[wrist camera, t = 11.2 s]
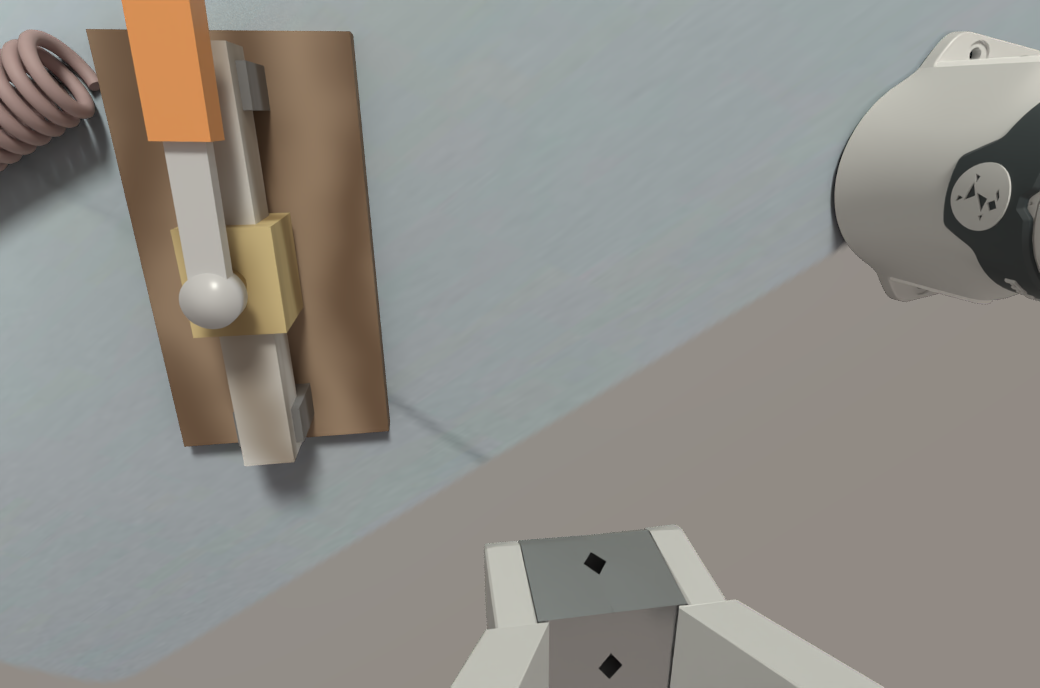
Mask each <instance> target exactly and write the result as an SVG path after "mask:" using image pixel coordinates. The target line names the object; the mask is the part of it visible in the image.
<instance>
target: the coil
mask: <svg viewBox="0 0 1040 688" xmlns="http://www.w3.org/2000/svg"><path fill="white" fill-rule="evenodd" d="M39 46H41V47H43V48H46V49H48V50H50V51H51V52H53V53H54V54H56V55H57V56H59V57H60V58H61V59H63V60H64V61H65V62H66V63H67V64H69V65H70V66H71V67H72V68H73V69H74V70H75V71H76V72H77V73H78V74H79V75H80V77H81V78H82V79H83V80H84V82H85V83H86V84H87V86H88V87H89V88H90V90H93V91H98V90H100V87H99V82H98V78H97V75H96V73H95V72H94V71H93V70H92V69H91V68H90V66H89V65H88V64H87V63H86V62H85V61H84V60H83V59H82V58H81V57H80V56H79V55H78V54H76V53H75V52H74V51H73V50H72V49H71V48H69V47H68V46H67V45H65V44H64V43H63V42H61V41H60V40H58V39H57V38H55V37H53V36H52V35H50V34H47V33H45V32H42V31H38V30H26V31H24V32H22V33H21V34H20V35H19V38H18V39H14V40H10V41H8V42H6V43H5V44H4V45H3V47H2V49H0V171H3V170H4V169H5V168H6V167H7V165H8V164H12V163H15V162H18V161H19V160H20V159H21V157H22V155H27V154H31V153H33V152H34V151H35V149H36V147H37V146H42V145H46V144H48V143H49V141H50V140H51V137H57V136H61V135H62V134H63V133H64V132H65V130H66V128H72V127H76V126H77V125H78V124H79V123H80V118H82V119H87V118H91V117H92V116H93V115H94V113H95V105H94V102H93V99H92V97H91V96H90V94H89V92H88V91H87V89H86V88H85V87H84V85H83V84H82V83H81V82H80V81H79V79H78V78H77V77H76V76H75V75H74V74H73V73H72V72H71V71H70V70H69V69H68V68H67V67H66V66H65V65H64V64H63V63H62V62H60V61H59V60H58V59H57V58H56V57H54V56H53V55H52V54H50V53H49V52H47V51H46V50H44V49H43V48H41V47H39ZM44 66H45V67H46V68H48V69H49V70H50V71H51V72H52V73H54V74H55V75H56V76H57V77H58V78H59V79H60V80H61V81H62V82H63V83H64V84H65V85H66V86H67V88H68V89H69V90H70V91H71V93H72V94H73V95H74V97H75V99H76V100H77V101H75V100H74V99H72V97H71V96H70V95H69V94H68V92H67V91H66V90H65V89H64V88H63V87H62V85H61V84H60V83H59V82H58V81H57V80H56V79H55V78H54V77H53V76H51V75H50V74H49V73H48V72H47V70H46V69H45V67H44ZM26 73H27V74H28V75H30V76H31V77H32V78H33V79H34V81H35V82H36V83H37V84H38V85H37V84H36V83H35V82H33V81H32V80H31V79H30V78H28V76H27V74H26ZM9 81H10V82H11V83H13V84H14V85H15V87H16V88H17V89H16V88H15V87H14V86H12V85H11V84H10V83H9ZM53 101H54V102H55V103H56V104H57V105H58V106H59V107H61V109H62V111H61V110H59V108H58V107H57V105H56V104H55V103H54V102H53ZM45 117H46V118H47V119H48V121H47V120H46V119H45ZM32 129H34V131H33V130H32Z"/></svg>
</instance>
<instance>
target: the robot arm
mask: <svg viewBox="0 0 1040 688" xmlns="http://www.w3.org/2000/svg"><path fill="white" fill-rule="evenodd" d="M971 51H972V57H971V59H970V52H971ZM835 211H836V217H837V222H838V225H839V228H840V231H841V233H842V235H843V237H844V239H845V241H846V243H847V244H848V246H849V247H850V248H851V250H852V251H853V252H854V253H855V254H856V255H857V256H858V257H859V258H861V259H862V260H863V261H864V262H866V263H867V264H868V265H870V266H871V267H872V268H873V269H874V270H875V271H876V273H877V275H878V277H879V280H880V282H881V285H882V287H883V289H884V291H885V293H886V294H887V295H888V296H889V297H890V298H892V299H895V300H899V301H911V300H915V299H919V298H923V297H927V296H931V295H935V294H939V293H940V294H944V295H947V296H950V297H954V298H958V299H961V300H965V301H969V302H973V303H977V304H990V303H991V302H992V301H993V300H999V299H1004V298H1008V297H1011V296H1014V295H1017V294H1021V295H1024V296H1025V297H1027V298H1029V299H1033V300H1036V301H1040V51H1039V50H1036V49H1032V48H1028V47H1025V46H1021V45H1017V44H1014V43H1010V42H1006V41H1003V40H999V39H995V38H992V37H988V36H984V35H981V34H977V33H973V32H967V31H966V32H952V33H950V34H948V35H946V36H945V37H944V38H943V39H942V40H941V41H940V42H939V43H938V44H937V45H936V46H935V48H934V49H933V50H932V51H931V53H930V54H929V55H928V57H927V58H926V59H925V61H924V62H923V64H922V65H921V66H920V68H919V69H918V70H917V71H916V72H914V73H913V74H912V75H911V76H909V77H908V78H907V79H905V80H904V81H902V82H901V83H899V84H898V85H897V86H895V87H894V88H892V89H891V90H890V91H888V92H887V93H886V94H885V95H884V96H882V97H881V98H880V99H879V100H878V101H877V102H876V103H875V104H874V105H873V106H872V107H871V108H870V110H869V111H868V112H867V113H866V114H865V116H864V117H863V118H862V120H861V121H860V123H859V124H858V125H857V127H856V129H855V130H854V132H853V134H852V135H851V137H850V139H849V141H848V143H847V145H846V148H845V150H844V153H843V155H842V158H841V161H840V164H839V168H838V172H837V177H836V183H835ZM484 570H485V602H486V618H487V630H485V631H484V633H483V634H482V636H481V638H480V639H479V641H478V642H477V644H476V646H475V648H474V649H473V651H472V652H471V654H470V656H469V657H468V659H467V661H466V662H465V664H464V665H463V667H462V669H461V670H460V672H459V674H458V675H457V677H456V679H455V680H454V682H453V683H452V685H451V687H450V688H885V687H883V686H882V685H880V684H878V683H877V682H875V681H873V680H871V679H870V678H868V677H866V676H864V675H863V674H861V673H860V672H858V671H856V670H855V669H853V668H851V667H850V666H848V665H846V664H844V663H843V662H841V661H839V660H838V659H836V658H834V657H832V656H831V655H829V654H828V653H826V652H824V651H822V650H821V649H819V648H817V647H816V646H814V645H812V644H810V643H809V642H807V641H805V640H804V639H802V638H800V637H799V636H797V635H795V634H794V633H792V632H790V631H788V630H787V629H785V628H784V627H782V626H780V625H779V624H777V623H775V622H773V621H772V620H770V619H768V618H767V617H765V616H763V615H762V614H760V613H758V612H757V611H755V610H753V609H752V608H750V607H748V606H747V605H745V604H743V603H741V602H740V601H738V600H729V601H727V600H726V598H725V597H724V595H723V594H722V592H721V591H720V589H719V587H718V586H717V584H716V583H715V582H714V579H713V578H712V576H711V575H710V573H709V571H708V570H707V568H706V567H705V565H704V563H703V562H702V561H701V559H700V557H699V556H698V554H697V552H696V551H695V549H694V548H693V546H692V544H691V543H690V541H689V540H688V538H687V536H686V535H685V533H684V532H683V530H682V528H681V527H679V526H677V525H676V524H674V525H666V526H658V527H650V528H644V530H643V529H640V530H631V531H622V532H613V533H603V534H596V535H595V534H594V535H585V536H570V537H558V538H545V539H532V540H519V541H518V542H517V541H512V542H501V543H491V544H490V543H489V544H485V546H484Z"/></svg>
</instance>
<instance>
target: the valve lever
mask: <svg viewBox="0 0 1040 688" xmlns="http://www.w3.org/2000/svg"><path fill="white" fill-rule="evenodd" d="M122 5H123V10H124V15H125V21H126V26H127V31H128V37H129V42H130V47H131V53H132V58H133V63H134V68H135V74H136V79H137V84H138V90H139V95H140V100H141V106H142V111H143V116H144V121H145V127H146V132H147V137H148V141H163V146H164V152H165V157H166V163H167V168H168V174H169V179H170V185H171V190H172V196H173V201H174V207H175V212H176V218H177V223H178V229H179V235H180V240H181V246H182V251H183V257H184V262H185V268H186V273H187V279H188V280H187V281H186V282H185V283H184V284H183V286H182V288H181V290H180V293H179V304H180V307H181V310H182V312H183V313H184V315H185V316H186V317H187V318H188V319H189V320H190V321H191V322H192V323H194V324H196V325H198V326H200V327H202V328H206V329H220V328H223V327H226V326H228V325H230V324H231V323H232V322H233V321H234V320H235V319H236V318H237V317H238V316H239V315H240V314H241V313H242V312H243V310H244V309H245V307H246V305H247V301H248V294H247V290H246V287H245V285H244V283H243V282H242V280H241V279H240V278H239V277H238V276H237V275H235V274H234V273H233V271H232V265H231V258H230V252H229V245H228V239H227V232H226V225H225V219H224V212H223V206H222V199H221V193H220V186H219V180H218V173H217V167H216V160H215V154H214V147H213V142H214V141H222V140H225V138H224V131H223V124H222V117H221V110H220V103H219V97H218V90H217V83H216V76H215V69H214V62H213V56H212V49H211V42H210V35H209V28H208V21H207V14H206V8H205V1H204V0H122Z"/></svg>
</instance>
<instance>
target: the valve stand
mask: <svg viewBox="0 0 1040 688" xmlns="http://www.w3.org/2000/svg"><path fill="white" fill-rule="evenodd" d="M86 32H87V36H88V40H89V44H90V49H91V53H92V57H93V61H94V65H95V70H96V74H97V78H98V82H99V87H100V91H101V95H102V99H103V104H104V108H105V112H106V116H107V121H108V125H109V129H110V133H111V137H112V142H113V146H114V150H115V154H116V159H117V163H118V167H119V171H120V176H121V180H122V184H123V188H124V193H125V197H126V201H127V205H128V209H129V214H130V218H131V222H132V226H133V231H134V235H135V239H136V243H137V248H138V252H139V256H140V260H141V265H142V269H143V273H144V277H145V281H146V286H147V290H148V294H149V298H150V303H151V307H152V311H153V315H154V320H155V324H156V328H157V332H158V337H159V341H160V345H161V349H162V353H163V358H164V362H165V366H166V370H167V375H168V379H169V383H170V387H171V392H172V396H173V400H174V404H175V409H176V413H177V417H178V421H179V425H180V430H181V434H182V438H183V442H184V447H186V446H199V445H212V444H225V443H239V447H241V449H242V454H243V460H244V465H245V466H253V465H266V464H278V463H290V462H295V459H296V457H297V454H298V452H299V449H300V446H301V444H302V442H304V441H305V438H306V437H317V436H330V435H344V434H357V433H370V432H383V431H389V425H390V417H389V406H388V396H387V386H386V375H385V365H384V354H383V344H382V333H381V323H380V312H379V302H378V291H377V281H376V271H375V260H374V250H373V239H372V229H371V218H370V208H369V197H368V187H367V176H366V166H365V155H364V145H363V135H362V124H361V114H360V103H359V93H358V82H357V72H356V61H355V51H354V40H353V34H352V33H351V32H349V31H232V30H209V35H210V42H211V49H212V56H213V62H214V69H215V76H216V83H217V90H218V97H219V103H220V110H221V117H222V124H223V131H224V138H225V140H222V141H214V142H213V147H214V154H215V160H216V167H217V173H218V180H219V186H220V193H221V199H222V206H223V212H224V219H225V225H226V232H227V239H228V245H229V252H230V258H231V265H232V271H233V273H234V274H235V275H237V276H238V277H239V278H240V279H241V280H242V282H243V283H244V285H245V287H246V290H247V294H248V301H247V305H246V307H245V309H244V310H243V312H242V313H241V314H240V315H239V316H238V317H237V318H236V319H235V320H234V321H233V322H232V323H231V324H230V325H228V326H226V327H223V328H220V329H206V328H202V327H200V326H198V325H196V324H194V323H192V322H191V321H190V320H189V319H188V318H187V317H186V316H185V315H184V313H183V312H182V310H181V307H180V304H179V293H180V290H181V288H182V286H183V284H184V283H185V282H186V281H187V280H188V279H187V273H186V268H185V262H184V257H183V251H182V246H181V240H180V235H179V229H178V223H177V218H176V212H175V207H174V201H173V196H172V190H171V185H170V179H169V174H168V168H167V163H166V157H165V152H164V146H163V141H148V137H147V132H146V127H145V121H144V116H143V111H142V106H141V100H140V95H139V90H138V84H137V79H136V74H135V68H134V63H133V58H132V53H131V47H130V42H129V37H128V31H127V30H115V29H86Z"/></svg>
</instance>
